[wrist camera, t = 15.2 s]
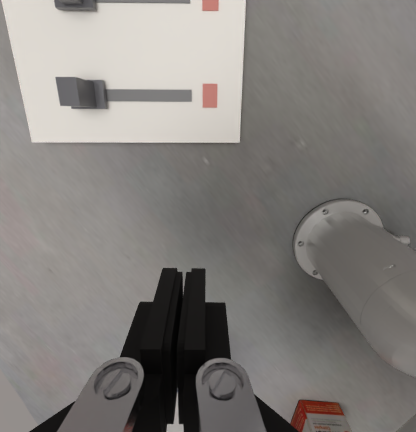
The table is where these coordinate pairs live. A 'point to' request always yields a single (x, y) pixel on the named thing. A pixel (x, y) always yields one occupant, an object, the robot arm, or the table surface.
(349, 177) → the table surface
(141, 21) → the breaker panel
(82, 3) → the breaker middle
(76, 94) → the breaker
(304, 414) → the medicine box
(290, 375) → the table surface
